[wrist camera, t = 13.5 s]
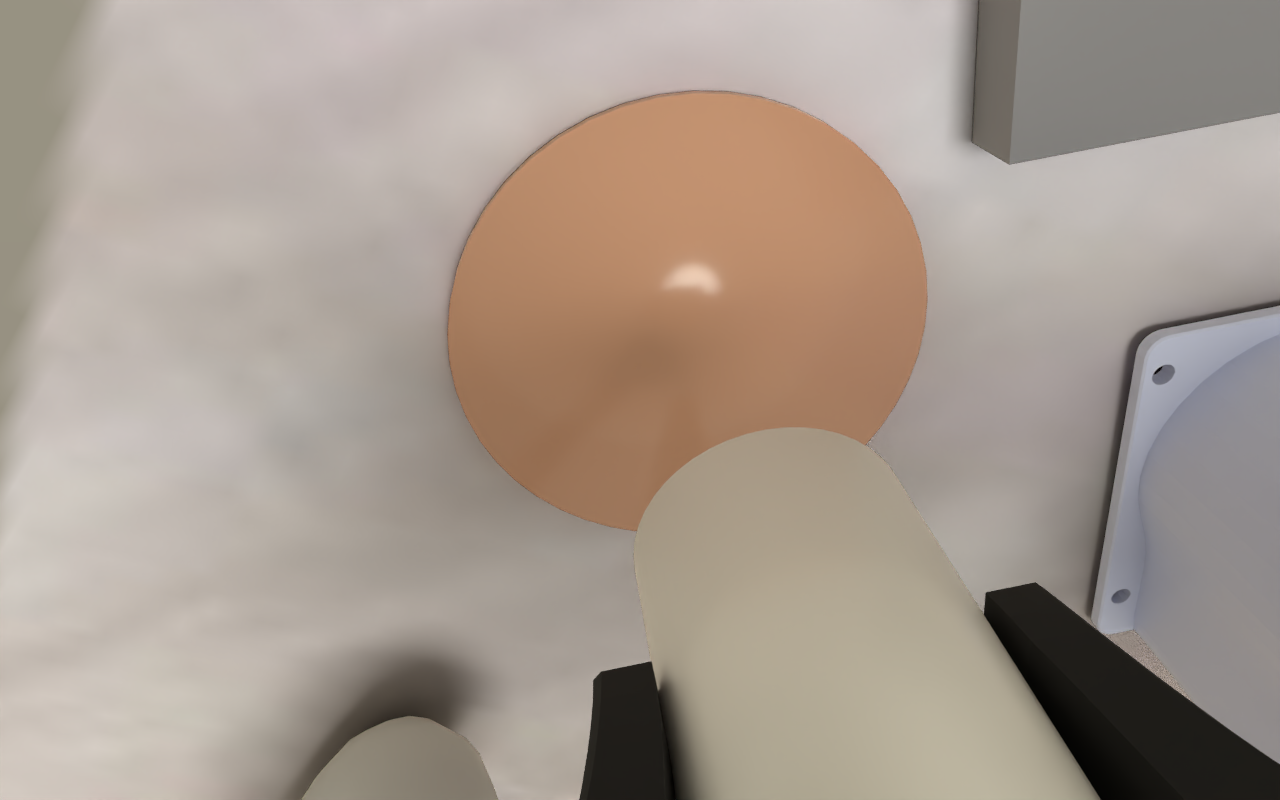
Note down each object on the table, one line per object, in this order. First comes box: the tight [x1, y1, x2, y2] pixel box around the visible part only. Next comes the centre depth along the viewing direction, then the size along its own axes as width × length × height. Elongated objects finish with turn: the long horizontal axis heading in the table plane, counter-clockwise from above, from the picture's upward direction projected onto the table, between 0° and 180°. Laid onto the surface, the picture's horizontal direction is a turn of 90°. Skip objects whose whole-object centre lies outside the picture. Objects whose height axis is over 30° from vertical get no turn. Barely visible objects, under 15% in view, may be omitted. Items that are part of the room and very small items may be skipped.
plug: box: [633, 427, 1101, 800], centre depth 9 cm, size 4×4×8 cm
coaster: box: [447, 91, 927, 531], centre depth 18 cm, size 10×10×1 cm
